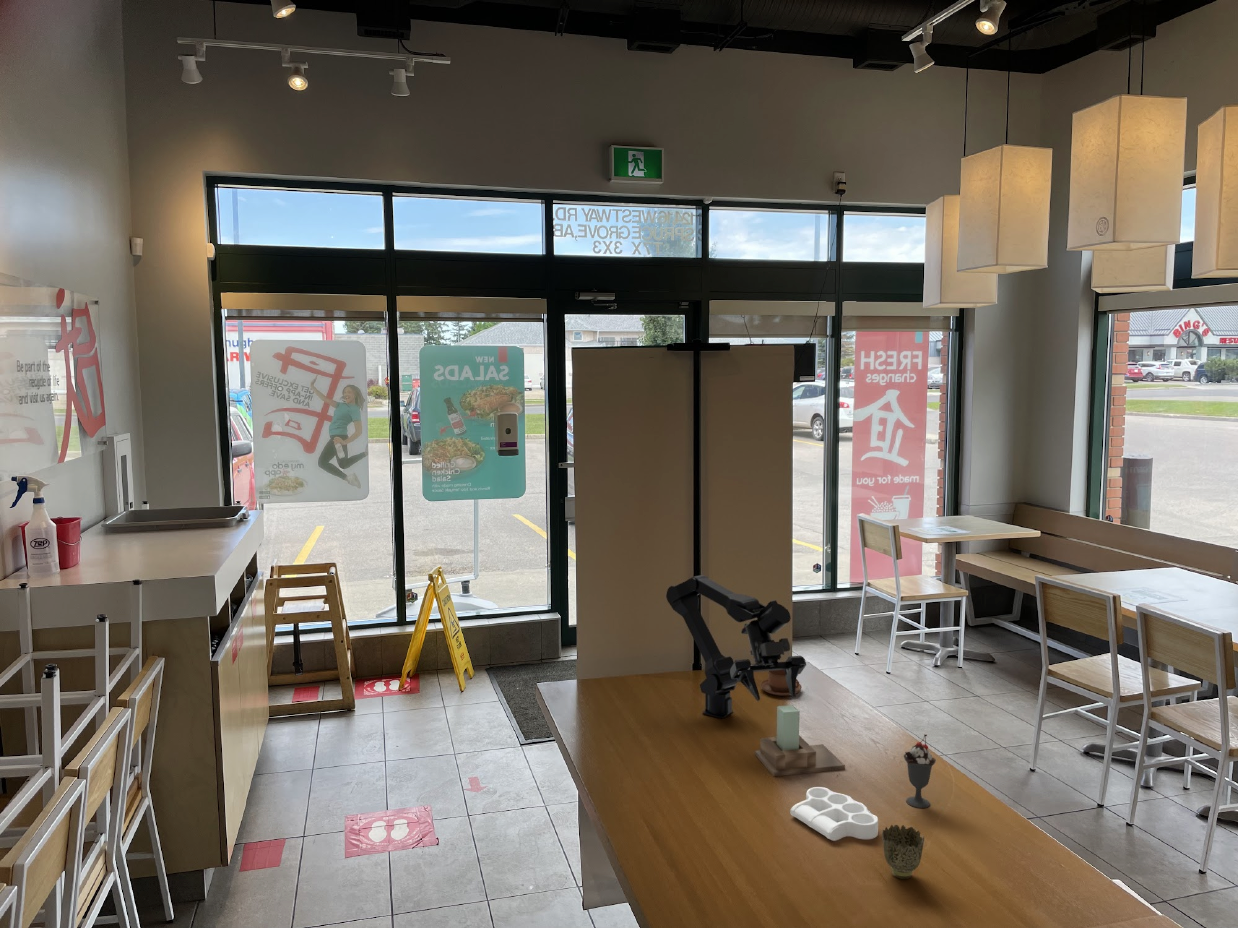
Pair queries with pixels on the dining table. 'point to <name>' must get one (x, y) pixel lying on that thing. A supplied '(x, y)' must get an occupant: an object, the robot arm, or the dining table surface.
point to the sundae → (919, 772)
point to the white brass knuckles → (835, 815)
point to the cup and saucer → (778, 684)
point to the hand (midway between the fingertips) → (776, 698)
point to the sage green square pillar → (787, 727)
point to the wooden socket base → (796, 758)
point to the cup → (902, 850)
